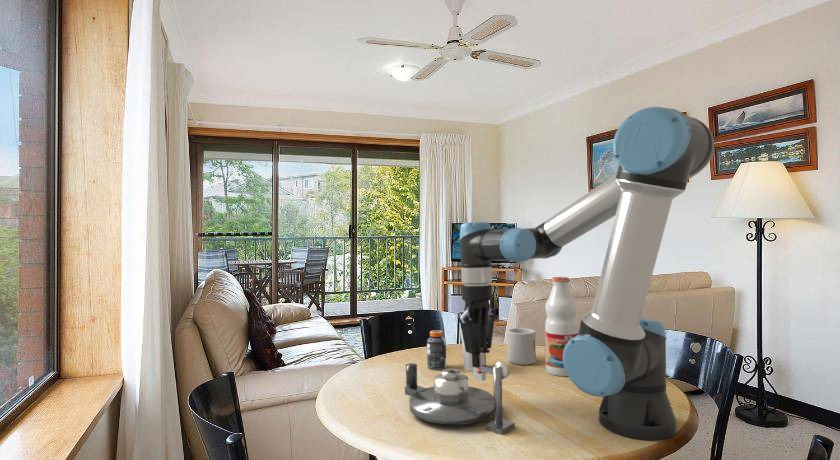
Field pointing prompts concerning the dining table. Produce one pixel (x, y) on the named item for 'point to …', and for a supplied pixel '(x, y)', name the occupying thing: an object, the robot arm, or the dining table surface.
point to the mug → (521, 346)
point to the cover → (451, 387)
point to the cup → (466, 356)
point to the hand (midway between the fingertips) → (479, 379)
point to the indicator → (498, 397)
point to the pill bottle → (436, 350)
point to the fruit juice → (559, 325)
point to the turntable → (432, 411)
